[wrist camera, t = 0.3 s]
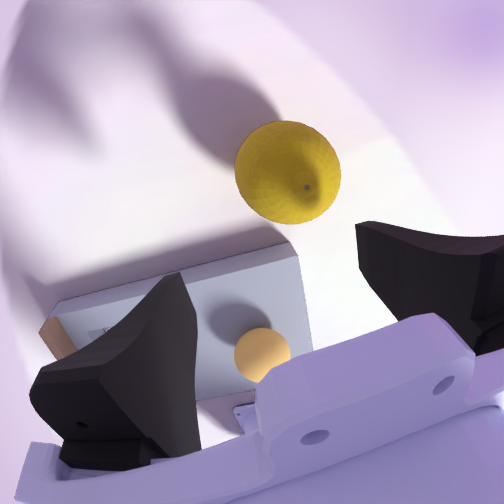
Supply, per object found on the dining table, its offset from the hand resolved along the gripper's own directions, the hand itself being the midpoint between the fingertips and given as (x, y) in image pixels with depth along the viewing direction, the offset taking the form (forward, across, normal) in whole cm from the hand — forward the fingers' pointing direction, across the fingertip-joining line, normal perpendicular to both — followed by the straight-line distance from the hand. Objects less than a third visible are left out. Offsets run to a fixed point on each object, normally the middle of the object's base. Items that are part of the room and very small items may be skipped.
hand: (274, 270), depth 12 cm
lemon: (+10, -2, -2) cm, 11 cm away
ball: (+7, +2, +10) cm, 12 cm away
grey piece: (+10, +8, +10) cm, 16 cm away
